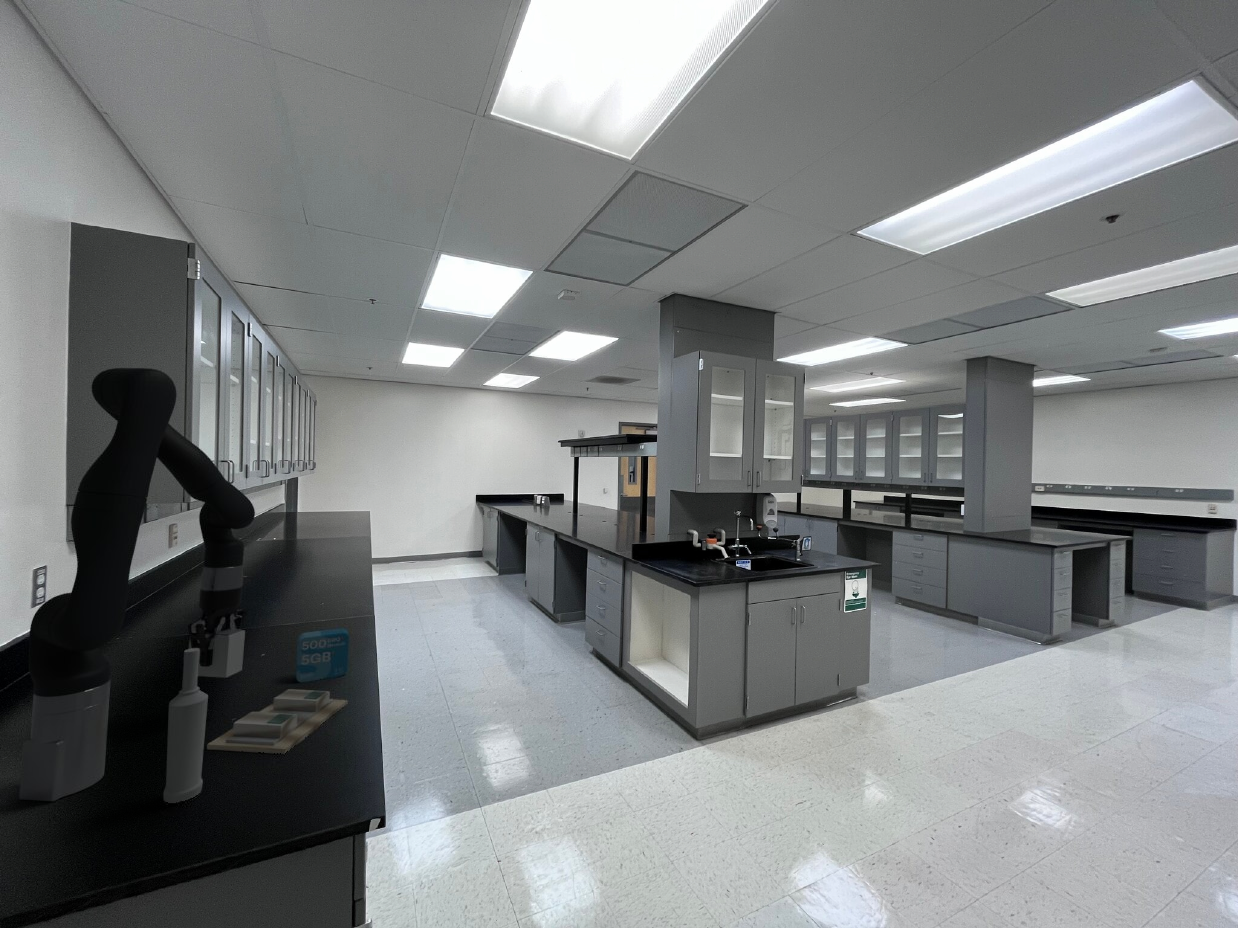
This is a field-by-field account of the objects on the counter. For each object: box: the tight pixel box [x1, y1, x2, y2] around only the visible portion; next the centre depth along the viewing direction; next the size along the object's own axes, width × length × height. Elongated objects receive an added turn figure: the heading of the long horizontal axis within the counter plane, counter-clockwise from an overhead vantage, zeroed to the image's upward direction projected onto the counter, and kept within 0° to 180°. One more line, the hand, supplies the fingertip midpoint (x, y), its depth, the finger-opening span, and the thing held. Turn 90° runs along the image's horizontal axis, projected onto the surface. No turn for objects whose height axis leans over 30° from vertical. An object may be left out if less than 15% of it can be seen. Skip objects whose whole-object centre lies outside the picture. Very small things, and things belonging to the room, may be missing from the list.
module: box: [188, 628, 246, 679], centre depth 113 cm, size 4×9×9 cm, turn 88°
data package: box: [295, 628, 350, 683], centre depth 138 cm, size 12×4×12 cm, turn 124°
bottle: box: [163, 648, 209, 803], centre depth 87 cm, size 5×5×25 cm
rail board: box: [206, 688, 349, 755], centre depth 112 cm, size 22×16×4 cm
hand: (215, 661), depth 113 cm, fingers closed on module, 4 cm apart
